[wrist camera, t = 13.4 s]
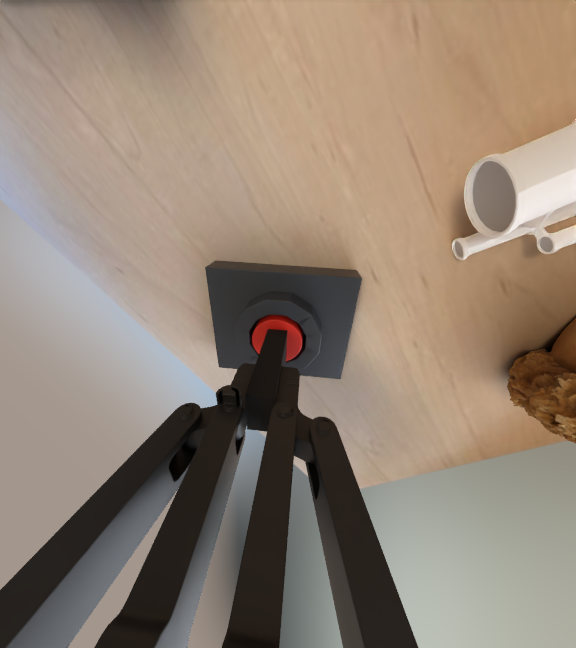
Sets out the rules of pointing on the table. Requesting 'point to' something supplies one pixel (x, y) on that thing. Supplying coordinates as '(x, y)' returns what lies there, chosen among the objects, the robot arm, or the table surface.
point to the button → (279, 324)
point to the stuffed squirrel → (549, 384)
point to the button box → (283, 311)
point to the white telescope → (522, 194)
